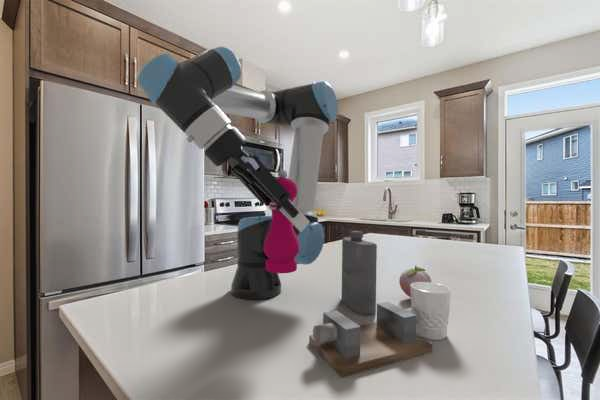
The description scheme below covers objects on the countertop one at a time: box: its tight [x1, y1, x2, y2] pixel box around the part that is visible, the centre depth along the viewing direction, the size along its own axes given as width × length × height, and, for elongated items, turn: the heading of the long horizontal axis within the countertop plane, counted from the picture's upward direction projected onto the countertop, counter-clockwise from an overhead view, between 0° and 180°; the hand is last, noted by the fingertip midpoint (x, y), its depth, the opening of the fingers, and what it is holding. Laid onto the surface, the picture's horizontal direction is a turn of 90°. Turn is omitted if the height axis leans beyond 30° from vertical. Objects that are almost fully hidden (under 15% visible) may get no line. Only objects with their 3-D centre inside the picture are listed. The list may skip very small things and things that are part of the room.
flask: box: [341, 230, 378, 316], centre depth 79 cm, size 15×6×20 cm, turn 13°
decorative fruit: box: [398, 265, 432, 298], centre depth 84 cm, size 9×8×10 cm
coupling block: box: [308, 301, 433, 378], centre depth 56 cm, size 12×23×6 cm, turn 114°
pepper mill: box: [263, 169, 299, 274], centre depth 58 cm, size 7×7×20 cm
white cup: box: [410, 281, 451, 341], centre depth 63 cm, size 8×8×10 cm
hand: (298, 225), depth 60 cm, fingers closed on pepper mill, 5 cm apart
